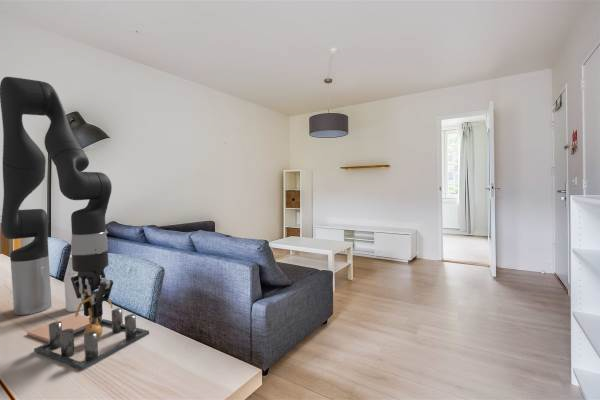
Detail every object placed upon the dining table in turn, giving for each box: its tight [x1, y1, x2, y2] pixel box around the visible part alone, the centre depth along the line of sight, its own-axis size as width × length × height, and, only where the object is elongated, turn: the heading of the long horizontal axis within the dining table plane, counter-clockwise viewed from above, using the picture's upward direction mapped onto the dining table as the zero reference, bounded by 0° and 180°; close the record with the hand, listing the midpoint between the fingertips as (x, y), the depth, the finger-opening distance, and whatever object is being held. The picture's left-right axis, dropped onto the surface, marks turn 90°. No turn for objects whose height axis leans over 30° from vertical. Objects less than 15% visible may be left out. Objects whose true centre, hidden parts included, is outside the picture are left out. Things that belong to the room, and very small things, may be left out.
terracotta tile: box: [27, 313, 90, 343], centre depth 84 cm, size 11×12×1 cm
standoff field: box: [33, 307, 150, 371], centre depth 76 cm, size 19×17×6 cm
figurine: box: [75, 294, 113, 340], centre depth 76 cm, size 8×6×12 cm
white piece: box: [64, 254, 84, 313], centre depth 97 cm, size 7×7×18 cm
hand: (93, 315), depth 76 cm, fingers closed on figurine, 2 cm apart
